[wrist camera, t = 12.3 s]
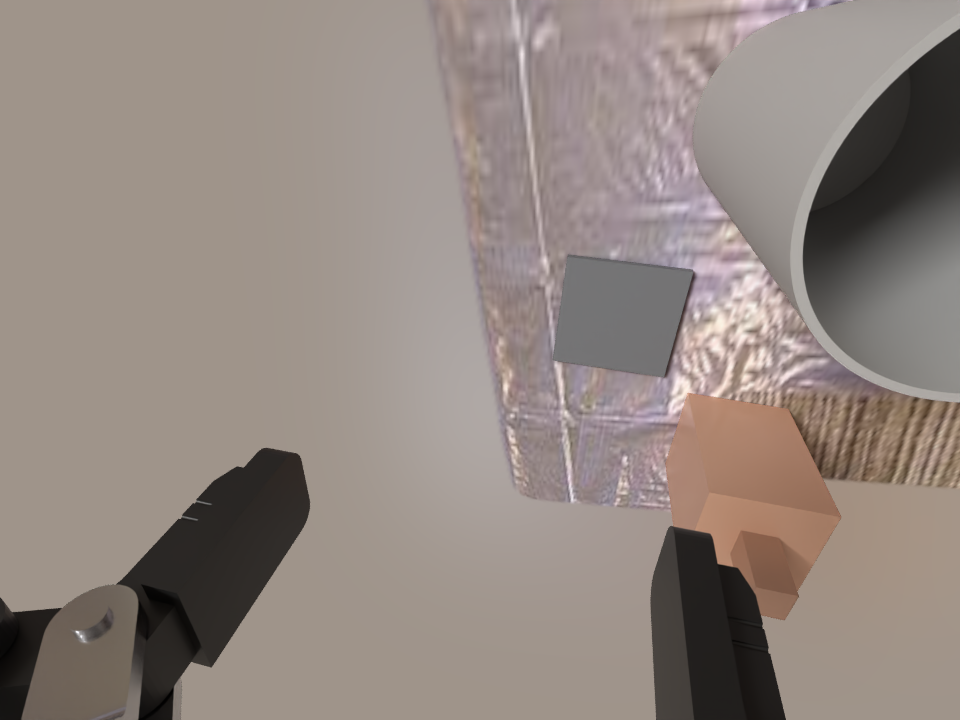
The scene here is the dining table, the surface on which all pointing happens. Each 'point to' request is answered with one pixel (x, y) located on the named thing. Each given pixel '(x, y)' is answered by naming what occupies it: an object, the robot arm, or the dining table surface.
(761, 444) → the orange square bottle
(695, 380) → the dining table surface
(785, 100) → the cylinder vase
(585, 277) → the mat
